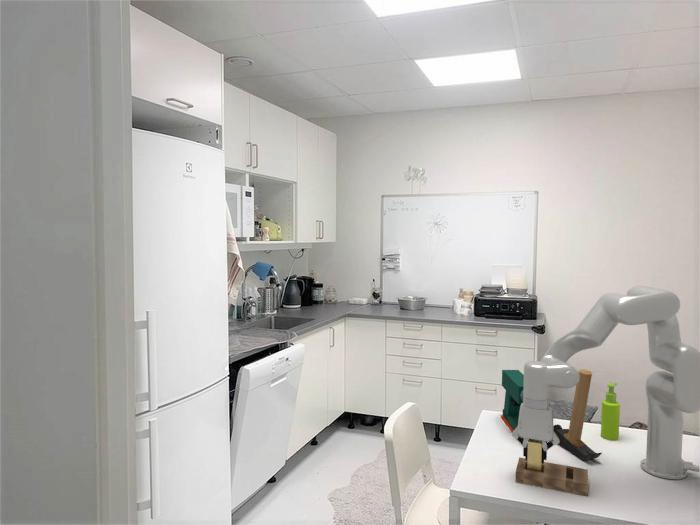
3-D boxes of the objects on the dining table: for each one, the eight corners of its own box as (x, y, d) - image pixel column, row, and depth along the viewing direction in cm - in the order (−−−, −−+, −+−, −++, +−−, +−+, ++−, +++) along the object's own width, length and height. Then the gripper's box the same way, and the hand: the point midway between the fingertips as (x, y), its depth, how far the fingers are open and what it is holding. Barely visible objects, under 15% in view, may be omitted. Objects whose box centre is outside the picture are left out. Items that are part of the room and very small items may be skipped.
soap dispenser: (621, 436, 187) (623, 383, 186) (616, 442, 182) (618, 387, 181) (604, 431, 191) (605, 380, 190) (598, 437, 186) (600, 384, 185)
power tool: (547, 452, 174) (548, 395, 173) (526, 452, 174) (527, 395, 173) (518, 417, 206) (519, 369, 205) (500, 417, 206) (501, 369, 205)
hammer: (599, 468, 167) (614, 386, 160) (586, 470, 166) (600, 387, 158) (561, 433, 186) (573, 358, 179) (549, 435, 185) (560, 359, 177)
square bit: (541, 470, 157) (542, 438, 156) (540, 475, 153) (541, 443, 153) (528, 467, 159) (528, 436, 158) (527, 473, 155) (527, 441, 154)
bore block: (587, 480, 155) (587, 469, 154) (588, 496, 146) (588, 484, 145) (519, 467, 163) (519, 457, 163) (515, 482, 154) (515, 470, 154)
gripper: (566, 402, 155) (564, 460, 156) (509, 394, 162) (508, 450, 163) (565, 410, 148) (563, 471, 149) (506, 402, 155) (505, 460, 156)
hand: (534, 459), depth 156 cm, fingers closed on square bit, 4 cm apart
